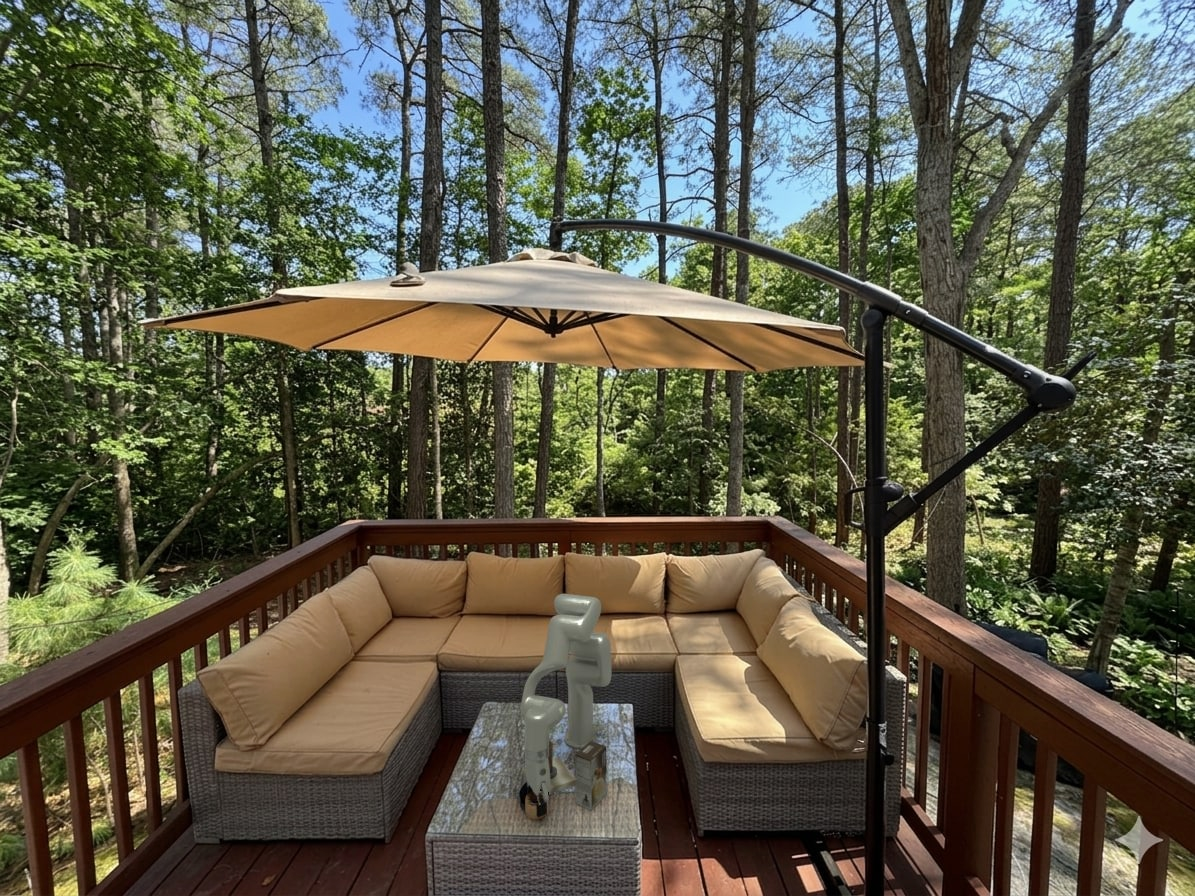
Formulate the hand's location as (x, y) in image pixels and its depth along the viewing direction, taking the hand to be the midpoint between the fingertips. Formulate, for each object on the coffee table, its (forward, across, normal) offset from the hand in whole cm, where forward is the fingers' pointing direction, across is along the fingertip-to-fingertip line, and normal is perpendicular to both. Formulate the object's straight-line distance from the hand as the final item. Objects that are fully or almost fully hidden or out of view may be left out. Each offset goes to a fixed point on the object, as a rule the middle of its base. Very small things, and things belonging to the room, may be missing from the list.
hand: (537, 806), depth 161 cm
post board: (+1, +12, -9) cm, 15 cm away
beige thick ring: (+1, 0, 0) cm, 1 cm away
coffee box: (+2, -3, -17) cm, 18 cm away
